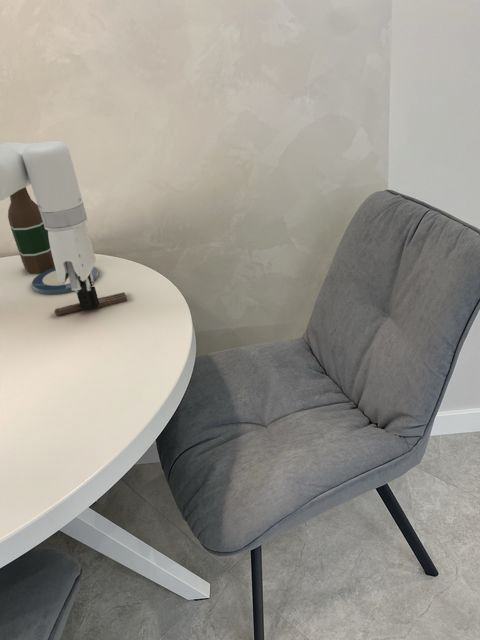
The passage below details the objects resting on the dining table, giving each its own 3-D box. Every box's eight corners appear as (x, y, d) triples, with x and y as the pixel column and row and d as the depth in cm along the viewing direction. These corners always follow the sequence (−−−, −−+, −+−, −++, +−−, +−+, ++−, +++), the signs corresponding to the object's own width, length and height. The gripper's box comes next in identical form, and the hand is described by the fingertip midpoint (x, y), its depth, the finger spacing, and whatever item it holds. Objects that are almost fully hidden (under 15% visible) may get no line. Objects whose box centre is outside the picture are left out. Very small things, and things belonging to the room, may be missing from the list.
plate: (24, 297, 115) (23, 292, 115) (44, 270, 127) (42, 266, 127) (90, 291, 115) (89, 286, 115) (103, 264, 127) (102, 260, 127)
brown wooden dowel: (56, 318, 106) (54, 312, 105) (55, 313, 108) (53, 306, 107) (127, 301, 110) (126, 294, 109) (125, 296, 112) (123, 289, 111)
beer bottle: (44, 259, 133) (12, 158, 121) (66, 263, 130) (35, 159, 117) (18, 271, 128) (-19, 167, 115) (40, 276, 124) (5, 169, 112)
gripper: (55, 205, 103) (81, 292, 113) (29, 232, 91) (61, 328, 100) (94, 201, 103) (116, 289, 113) (74, 228, 91) (101, 324, 100)
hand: (90, 307), depth 107 cm, fingers closed
